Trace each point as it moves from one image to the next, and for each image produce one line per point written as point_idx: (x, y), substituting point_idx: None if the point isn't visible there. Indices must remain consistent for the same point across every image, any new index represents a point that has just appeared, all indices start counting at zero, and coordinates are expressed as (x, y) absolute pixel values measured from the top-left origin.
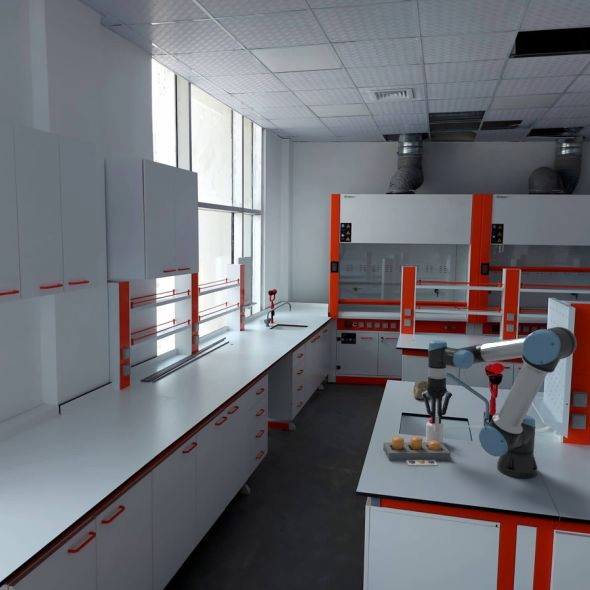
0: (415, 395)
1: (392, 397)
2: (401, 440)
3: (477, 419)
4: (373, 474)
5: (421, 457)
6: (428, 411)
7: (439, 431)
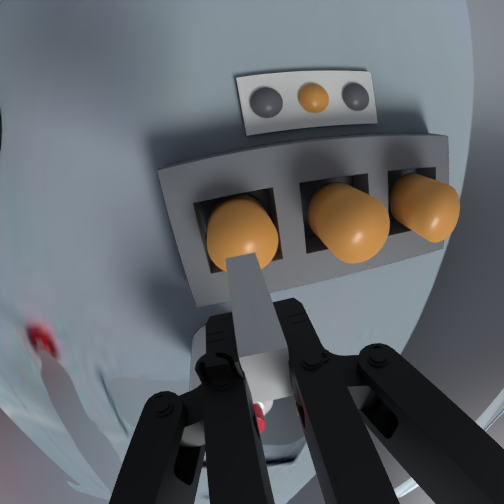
0: None
1: (295, 487)
2: (433, 190)
3: (120, 457)
4: (458, 29)
5: (312, 139)
6: (416, 374)
7: None
